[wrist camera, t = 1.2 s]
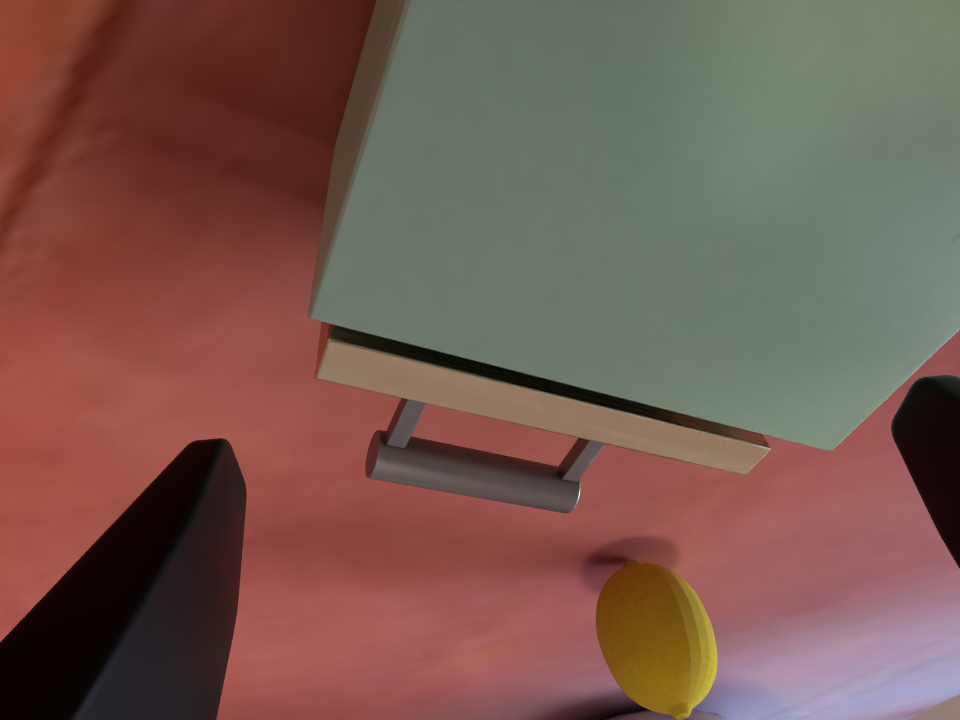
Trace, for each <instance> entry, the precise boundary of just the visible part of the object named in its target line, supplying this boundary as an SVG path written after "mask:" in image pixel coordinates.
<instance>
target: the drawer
mask: <svg viewBox="0 0 960 720" xmlns="http://www.w3.org/2000/svg"><path fill="white" fill-rule="evenodd" d="M315 377H316V378H317V379H319V380H324V381H328V382H333V383H337V384H342V385H346V386H350V387H355V388H359V389H364V390H368V391H373V392H377V393H382V394H386V395H390V396H395V397H399V398H401V400H400V403H399V405H398V407H397V409H396V411H395V413H394V416H393V418H392V420H391V422H390V424H389V427H388V429H387V431H382V430H377V431H376V432H375V433H374V435H373V437H372V439H371V442H370V445H369V449H368V453H367V459H366V476H367V478H369V479H375V480H381V481H386V482H392V483H398V484H403V485H409V486H414V487H420V488H426V489H431V490H437V491H443V492H448V493H454V494H459V495H465V496H471V497H476V498H482V499H488V500H493V501H499V502H505V503H510V504H516V505H521V506H527V507H533V508H538V509H544V510H550V511H555V512H561V513H569V512H571V511H572V510H573V509H574V508H575V506H576V505H577V502H578V500H579V496H580V477H581V476H582V475H583V473H584V472H585V471H586V469H587V468H588V466H589V465H590V464H591V462H592V461H593V460H594V458H595V457H596V456H597V454H598V453H599V452H600V450H601V449H602V448H603V446H604V445H605V444H608V445H613V446H617V447H622V448H626V449H631V450H635V451H639V452H644V453H648V454H653V455H657V456H662V457H666V458H671V459H675V460H679V461H684V462H688V463H693V464H697V465H702V466H706V467H711V468H715V469H719V470H724V471H728V472H733V473H737V474H742V475H746V474H747V473H748V472H749V471H750V470H751V469H752V468H753V467H754V466H755V465H756V464H757V463H758V462H759V461H760V460H761V459H762V458H763V457H764V456H765V455H766V454H767V453H768V452H769V451H770V449H771V448H770V446H769V444H768V443H767V441H766V440H765V438H764V436H763V435H762V434H760V433H756V432H752V431H748V430H744V429H740V428H736V427H732V426H728V425H724V424H720V423H717V422H713V421H709V420H705V419H701V418H697V417H693V416H689V415H685V414H681V413H677V412H674V411H670V410H666V409H662V408H658V407H654V406H650V405H646V404H642V403H638V402H634V401H631V400H627V399H623V398H619V397H615V396H611V395H607V394H603V393H599V392H595V391H591V390H588V389H584V388H580V387H576V386H572V385H568V384H564V383H560V382H556V381H552V380H548V379H545V378H541V377H537V376H533V375H529V374H525V373H521V372H517V371H513V370H509V369H505V368H501V367H498V366H494V365H490V364H486V363H482V362H478V361H474V360H470V359H466V358H462V357H458V356H455V355H451V354H447V353H443V352H439V351H435V350H431V349H427V348H423V347H419V346H415V345H412V344H408V343H404V342H400V341H396V340H392V339H388V338H384V337H380V336H376V335H372V334H369V333H365V332H361V331H357V330H353V329H349V328H345V327H341V326H337V325H333V324H329V323H326V322H322V323H321V331H320V339H319V347H318V355H317V363H316V371H315ZM426 404H430V405H435V406H439V407H444V408H448V409H453V410H457V411H462V412H466V413H471V414H475V415H479V416H484V417H488V418H493V419H497V420H502V421H506V422H511V423H515V424H519V425H524V426H528V427H533V428H537V429H542V430H546V431H551V432H555V433H559V434H564V435H568V436H573V437H577V438H578V440H577V441H576V443H575V444H574V445H573V447H572V448H571V450H570V451H569V453H568V454H567V455H566V457H565V458H564V460H563V461H562V462H561V464H560V465H559V467H558V466H553V465H548V464H543V463H538V462H533V461H529V460H524V459H519V458H514V457H509V456H504V455H499V454H494V453H489V452H485V451H480V450H475V449H470V448H465V447H460V446H455V445H450V444H446V443H441V442H436V441H431V440H426V439H421V438H416V437H411V435H412V433H413V431H414V429H415V427H416V425H417V423H418V420H419V418H420V416H421V414H422V412H423V410H424V408H425V406H426Z"/></svg>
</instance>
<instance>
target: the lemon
mask: <svg viewBox="0 0 960 720" xmlns="http://www.w3.org/2000/svg"><path fill="white" fill-rule="evenodd" d="M596 628H597V635H598V640H599V644H600V647H601V650H602V653H603V655H604V658H605V660H606V662H607V665H608V667H609V669H610V671H611V673H612V675H613V677H614V678H615V680H616V682H617V683H618V685H619V686H620V688H621V689H622V690H623V692H624V693H625V694H626V695H627V696H628V697H629V698H631V699H632V700H633V701H635V702H636V703H638V704H639V705H640V706H642V707H644V708H646V709H649V710H651V711H654V712H657V713H663V714H670V715H672V716H673V717H674V718H676V719H684V718H687V717H689V716H690V714H691V711H692V708H693V707H695V706H696V705H698V704H699V703H700V702H701V701H702V700H703V699H704V698H705V697H706V695H707V694H708V692H709V691H710V689H711V687H712V685H713V683H714V680H715V677H716V671H717V648H716V641H715V636H714V632H713V628H712V625H711V622H710V619H709V617H708V615H707V612H706V610H705V608H704V606H703V604H702V602H701V600H700V599H699V597H698V595H697V594H696V592H695V591H694V590H693V588H692V587H691V586H690V585H689V584H688V583H687V582H686V581H685V580H684V579H683V578H682V577H680V576H679V575H678V574H676V573H675V572H673V571H672V570H670V569H668V568H665V567H662V566H660V565H656V564H648V563H642V564H641V563H639V562H637V561H634V560H630V561H628V562H626V563H625V565H624V566H623V568H622V569H621V570H619V571H618V572H617V573H615V574H614V575H613V576H612V577H611V578H610V579H609V580H608V581H607V582H606V584H605V585H604V587H603V589H602V591H601V593H600V596H599V599H598V602H597V610H596Z"/></svg>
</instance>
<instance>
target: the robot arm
mask: <svg viewBox="0 0 960 720" xmlns="http://www.w3.org/2000/svg"><path fill="white" fill-rule="evenodd" d="M891 431H892V436H893V439H894V441H895V443H896V445H897V447H898V449H899V451H900V453H901V456H902V458H903V460H904V462H905V464H906V466H907V468H908V470H909V472H910V474H911V476H912V479H913V481H914V483H915V485H916V487H917V489H918V491H919V493H920V495H921V497H922V499H923V502H924V504H925V506H926V508H927V510H928V512H929V514H930V516H931V518H932V520H933V522H934V524H935V526H936V528H937V530H938V532H939V534H940V536H941V538H942V540H943V541H944V543H945V545H946V547H947V548H948V550H949V552H950V554H951V555H952V557H953V558H954V560H955V562H956V563H957V565H958V567H959V568H960V378H958V377H956V376H951V375H942V376H931V377H923V378H920V379H918V380H917V381H915V382H914V384H913V385H912V386H911V388H910V390H909V392H908V393H907V395H906V397H905V399H904V400H903V402H902V404H901V406H900V407H899V409H898V411H897V413H896V414H895V416H894V418H893V420H892V425H891ZM245 510H246V486H245V481H244V478H243V476H242V473H241V470H240V468H239V465H238V462H237V460H236V457H235V454H234V452H233V449H232V447H231V445H230V443H229V442H228V441H227V440H226V439H222V438H219V439H208V440H197V441H193V442H191V443H190V444H188V445H187V446H186V447H185V448H184V449H183V450H182V451H181V452H180V453H179V454H178V456H177V457H176V458H175V459H174V460H173V461H172V462H171V463H170V464H169V465H168V466H167V467H166V468H165V469H164V470H163V471H162V472H161V473H160V475H159V476H158V477H157V478H156V479H155V480H154V481H153V482H152V483H151V484H150V485H149V486H148V487H147V488H146V489H145V490H144V491H143V492H142V493H141V495H140V496H139V497H138V498H137V499H136V500H135V501H134V502H133V503H132V504H131V505H130V506H129V507H128V508H127V509H126V510H125V511H124V512H123V514H122V515H121V516H120V517H119V518H118V519H117V520H116V521H115V522H114V523H113V524H112V525H111V526H110V527H109V528H108V529H107V530H106V531H105V532H104V534H103V535H102V536H101V537H100V538H99V539H98V540H97V541H96V542H95V543H94V544H93V545H92V546H91V547H90V548H89V549H88V550H87V551H86V553H85V554H84V555H83V556H82V557H81V558H80V559H79V560H78V561H77V562H76V563H75V564H74V565H73V566H72V567H71V568H70V569H69V570H68V571H67V573H66V574H65V575H64V576H63V577H62V578H61V579H60V580H59V581H58V582H57V583H56V584H55V585H54V586H53V587H52V588H51V589H50V590H49V592H48V593H47V594H46V595H45V596H44V597H43V598H42V599H41V600H40V601H39V602H38V603H37V604H36V605H35V606H34V607H33V608H32V609H31V610H30V612H29V613H28V614H27V615H26V616H25V617H24V618H23V619H22V620H21V621H20V622H19V623H18V624H17V625H16V626H15V627H14V628H13V629H12V631H11V632H10V633H9V634H8V635H7V636H6V637H5V638H4V639H3V640H2V641H1V642H0V720H216V719H217V714H218V709H219V704H220V699H221V694H222V689H223V684H224V679H225V674H226V669H227V664H228V659H229V654H230V649H231V644H232V639H233V634H234V628H235V622H236V616H237V607H238V597H239V586H240V573H241V561H242V548H243V535H244V523H245Z"/></svg>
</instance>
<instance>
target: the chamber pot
mask: <svg viewBox="0 0 960 720" xmlns="http://www.w3.org/2000/svg"><path fill="white" fill-rule="evenodd" d="M602 720H729V719H726V718H724V717H722V716H720V715H718V714H716V713H709V712H701V711H694V710H692V711H691V714H690V716H689V717H687V718H684V719H676V718H674V717H673V716H672V715H670V714H663V713H657V712H654V711H651V710H641V711H635V712H629V713H624V714H619V715H616V716H612V717H609V718H606V719H602Z"/></svg>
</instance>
